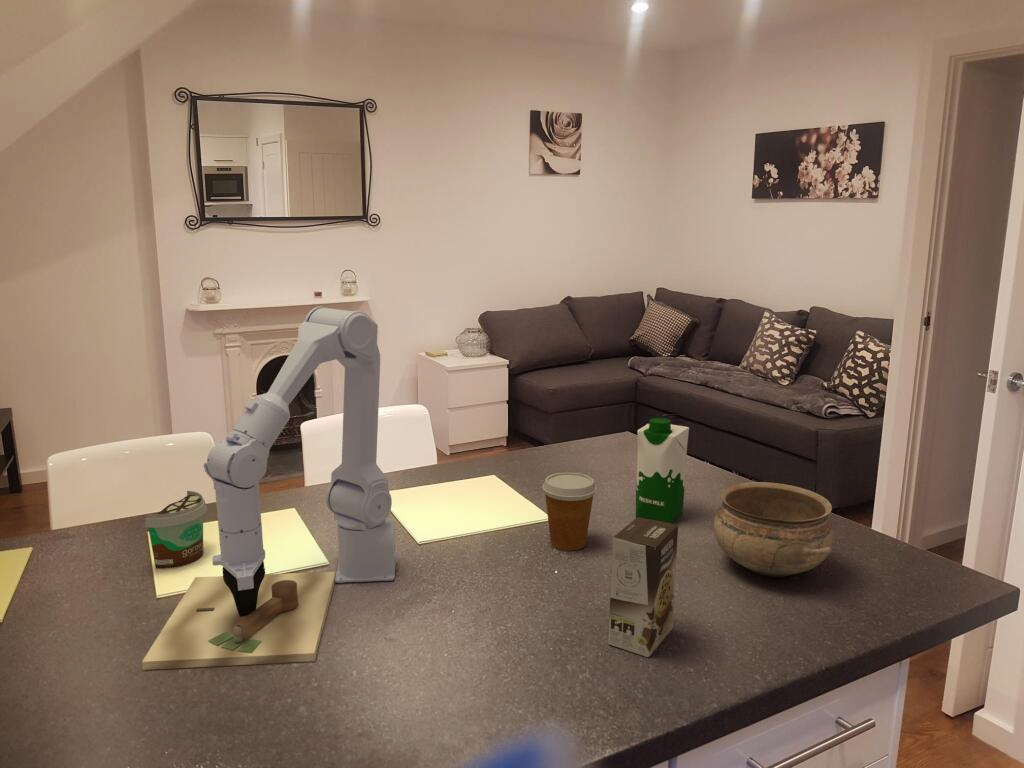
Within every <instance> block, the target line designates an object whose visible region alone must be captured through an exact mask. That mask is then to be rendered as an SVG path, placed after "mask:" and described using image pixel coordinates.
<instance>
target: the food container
mask: <svg viewBox="0 0 1024 768" xmlns="http://www.w3.org/2000/svg"><path fill="white" fill-rule="evenodd" d="M207 511H208V506H207V503H206V500H205V498H204V497H203V495H202V493H199V492H198V491H197V492H196V491H191V490H186V496H184V497H183V498H182V499H180V500H178V501H176V502H175V501H174V502H172V503H169V504H167V506H165V507H164V508H162V510H161V511H159V512H158V513H156V514H148V513H146V514H145V516H146V517H145V524H144V525H145V526H144V527H145V528H148V532H149V533H148V534H149V538H150V544H151V549H152V555H153V559H154V566H155V569H159V570H160V569H161V570H164V569H175V568H180V567H184V566H187V565H190V564H193V563H195V562H196V561H198V560H200V559H201V558H202V557H203V555H204V515H205V514H206V512H207Z"/></svg>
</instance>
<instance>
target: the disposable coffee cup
mask: <svg viewBox="0 0 1024 768" xmlns="http://www.w3.org/2000/svg"><path fill="white" fill-rule="evenodd" d="M541 488H542V491H543V493H544V494H545V497H544V498H545V504H546V511H547V512H546V513H547V521H548V530H549V532H548V533H549V536H550V537H549V539H550V545H551V547H553V548H555V549H557V550H561V551H569V552H570V551H578V550H581V549H583V548H585V547H586V544H587V538H588V531H589V525H590V519H591V512H592V506H593V500H594V495H595V494H596V491H597V485H596V484H595V481H594V478H592V477H591V476H589V475H587V474H584V473H583V474H582V473H578V472H557V473H553V474H550V475H548V476H547V477H545V479H544V483H543V485H542V487H541Z"/></svg>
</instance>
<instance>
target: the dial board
mask: <svg viewBox="0 0 1024 768" xmlns="http://www.w3.org/2000/svg"><path fill="white" fill-rule="evenodd" d="M336 572H337V571H320V572H319V571H318V572H317V571H316V572H296V573H295V572H294V573H272V574H271V573H269V574H267V573H265V576H264V579H263V580H262V582H261V585H260V588H259V592H258V598H257V606H256V609H257V608H258V607H260V606H261V605H262V604H264V603H265V602H267V601H268V600H269V599H271V598H272V588H271V587H272V585H273V584H274V583H276V582H279V581H282V580H292V581H295V582H296V583H297V594H298V606H297V607H296V608H295V609H293V610H290V611H285V612H280V613H279V614H277V615H276V616H275V617H273V618H272V619H271V620H270V621H268V622H267V623H266V624H264V625H263V626H262V627H261V628H259V629H258V630H257V631H255V632H254V633H253V634H252V635H250V636H249V637H248V638H246V639H245V640H244V641H242V642H238V643H237V642H234V633H233V627H234V625H235V624H237V623H238V622H239V621H241V620H242V619H243V618H245V617H246V616H244V617H240V616H239V614H238V611H237V608H236V604H235V601H234V597H233V595H232V593H231V591H230V589H229V588H228V586H227V585H226V584H225V582H224V580H223V575H222V576H221V575H219V576H217V575H216V576H195V577H194V578H193V580H192V581H191V584H190V585H189V587H188V588H187V590H186V592H185V593H184V595H183V597H181V600H180V601H179V603H178V604H177V606H176V607H175V608H174V611H173V612H172V613H171V615H170V617H169V618H168V620H167V622H166V623H165V625H164V626H163V628H162V629H161V631H160V632H159V634H158V636H157V637H156V638H155V640H154V642H153V643H152V645H151V647H150V648H149V649H148V651H147V653H146V655H145V656H144V658H143V659H142V661H141V665H142V671H146V670H150V671H151V670H153V671H154V670H168V669H169V670H170V669H173V670H174V669H189V668H207V667H208V668H210V667H226V666H227V667H228V666H245V665H246V666H247V665H248V666H249V665H251V666H252V665H266V664H267V665H268V664H283V663H284V664H286V663H303V662H307V663H308V662H315V661H316V657H317V654H318V650H319V646H320V641H321V638H322V634H323V630H324V627H325V622H326V619H327V614H328V612H329V611H328V610H329V607H330V604H331V599H332V594H333V591H334V588H335V587H334V586H335V583H336V582H335V576H336Z"/></svg>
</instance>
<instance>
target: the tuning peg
mask: <svg viewBox="0 0 1024 768" xmlns="http://www.w3.org/2000/svg"><path fill="white" fill-rule="evenodd" d="M271 588H272V598H271V599H269V600H268V601H267V602H265V603H264V604H262V605H261V606H260V607H258V608H257V609H256V610H254V611H253V612H252V613H250V614H249V615H248V616H246V617H245V618H243V619H242V620H241V621H239V622H238V623H237V624H235V625H234V627H233V633H234V642H237V643H238V642H242V641H244V640H245V639H246V638H248V637H249V636H250V635H252V634H253V633H254V632H255V631H257V630H258V629H259V628H261V627H262V626H263V625H264V624H266V623H267V622H268V621H270V620H271V619H272V618H273V617H275V616H276V615H277V614H279V613H280V612H285V611H290V610H293V609H295V608H296V607H297V606H298V594H297V583H296V582H295V581H292V580H282V581H279V582H276V583H274V584H273V585H272V587H271Z"/></svg>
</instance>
